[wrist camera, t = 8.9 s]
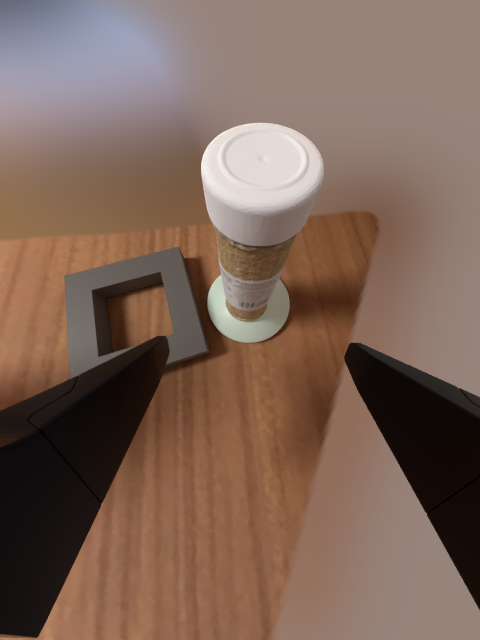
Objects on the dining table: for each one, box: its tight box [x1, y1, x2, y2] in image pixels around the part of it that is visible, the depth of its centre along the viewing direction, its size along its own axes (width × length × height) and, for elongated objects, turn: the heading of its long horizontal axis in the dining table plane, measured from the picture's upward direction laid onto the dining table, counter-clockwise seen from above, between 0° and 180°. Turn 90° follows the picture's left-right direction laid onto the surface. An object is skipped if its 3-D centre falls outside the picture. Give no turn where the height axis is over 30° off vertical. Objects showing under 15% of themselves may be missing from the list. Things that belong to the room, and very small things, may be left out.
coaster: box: [207, 275, 290, 343], centre depth 19 cm, size 9×9×1 cm
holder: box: [64, 247, 210, 379], centre depth 18 cm, size 12×12×2 cm
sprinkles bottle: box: [201, 123, 324, 322], centre depth 13 cm, size 5×5×13 cm
